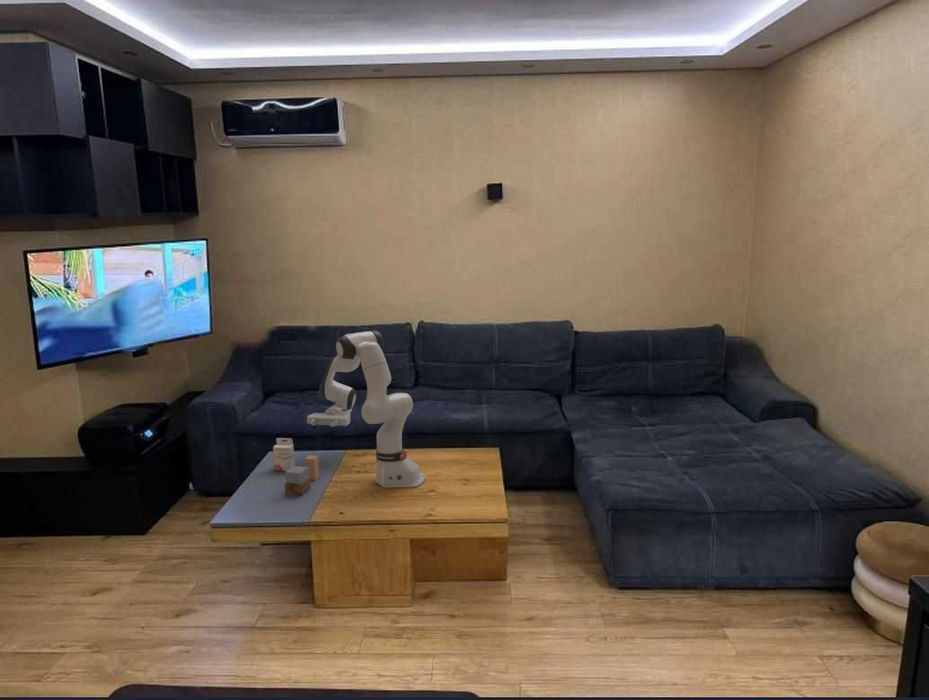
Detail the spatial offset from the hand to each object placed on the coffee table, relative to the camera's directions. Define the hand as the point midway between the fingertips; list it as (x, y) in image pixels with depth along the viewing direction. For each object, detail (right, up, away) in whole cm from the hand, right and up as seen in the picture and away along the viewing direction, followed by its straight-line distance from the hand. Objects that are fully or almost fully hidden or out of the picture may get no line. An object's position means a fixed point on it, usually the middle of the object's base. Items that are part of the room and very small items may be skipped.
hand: (321, 424), depth 313 cm
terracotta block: (-2, -23, -8) cm, 25 cm away
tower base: (-6, -27, -23) cm, 35 cm away
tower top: (-6, -22, -24) cm, 32 cm away
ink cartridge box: (-18, -22, +3) cm, 28 cm away
